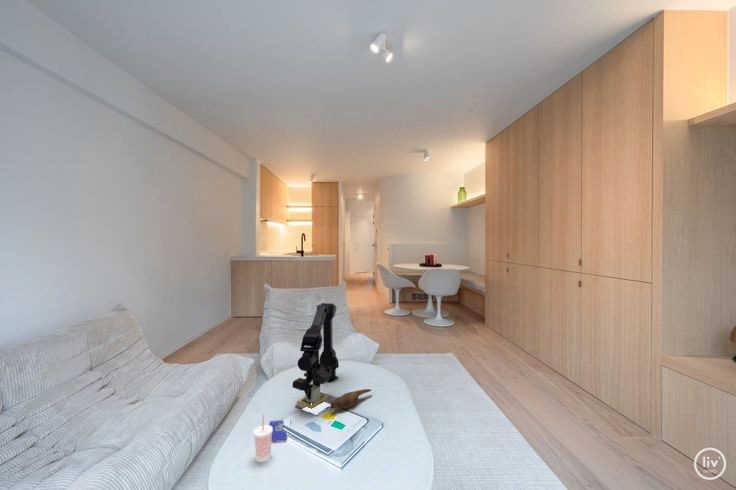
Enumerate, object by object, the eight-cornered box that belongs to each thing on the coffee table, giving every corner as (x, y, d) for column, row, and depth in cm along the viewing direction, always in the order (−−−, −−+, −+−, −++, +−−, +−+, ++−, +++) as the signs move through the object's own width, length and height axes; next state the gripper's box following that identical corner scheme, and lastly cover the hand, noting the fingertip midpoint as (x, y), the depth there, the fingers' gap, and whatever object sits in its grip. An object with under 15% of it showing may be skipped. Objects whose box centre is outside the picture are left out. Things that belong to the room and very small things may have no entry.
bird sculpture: (375, 397, 145) (375, 386, 145) (333, 419, 127) (333, 407, 127) (364, 392, 150) (364, 382, 149) (323, 413, 131) (323, 401, 131)
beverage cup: (266, 448, 109) (265, 408, 109) (276, 456, 105) (276, 414, 105) (249, 458, 105) (249, 415, 104) (260, 466, 101) (259, 422, 101)
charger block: (311, 397, 141) (311, 383, 141) (320, 400, 138) (320, 386, 138) (305, 401, 138) (305, 387, 138) (314, 404, 135) (313, 390, 135)
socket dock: (318, 393, 149) (318, 387, 149) (339, 400, 142) (339, 393, 142) (295, 407, 136) (295, 400, 136) (316, 415, 130) (316, 408, 130)
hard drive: (269, 420, 124) (262, 440, 112) (291, 419, 125) (286, 439, 113) (269, 424, 124) (262, 445, 112) (291, 423, 125) (286, 443, 113)
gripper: (311, 373, 126) (311, 412, 126) (340, 358, 141) (340, 393, 142) (291, 367, 132) (291, 404, 132) (321, 353, 147) (321, 387, 148)
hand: (312, 397), depth 138 cm, fingers closed on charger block, 4 cm apart
